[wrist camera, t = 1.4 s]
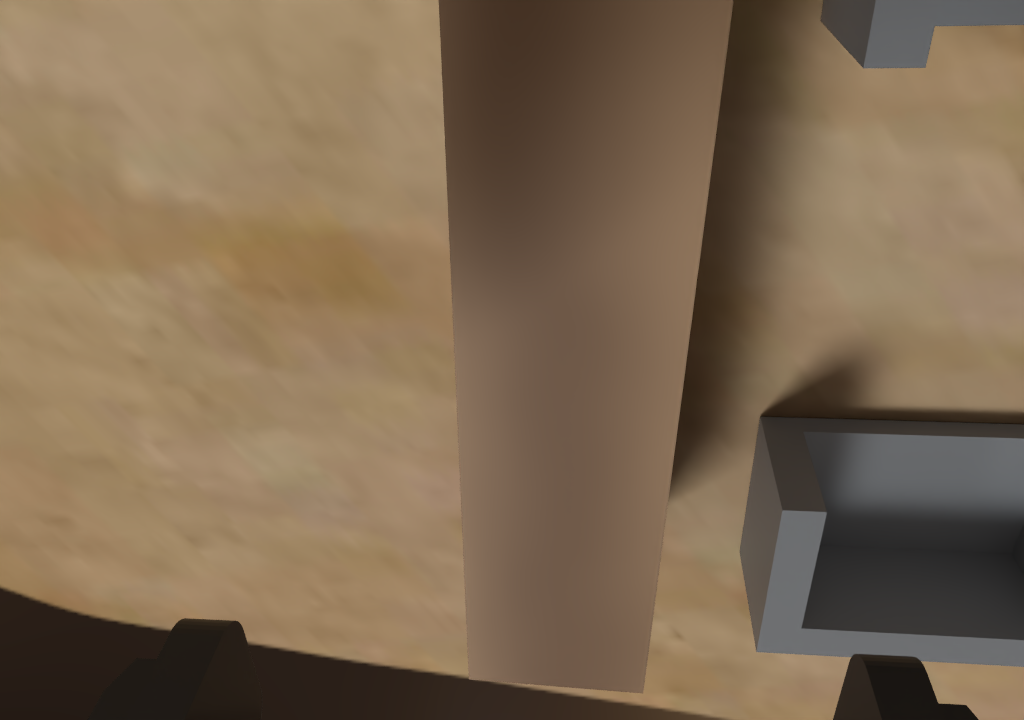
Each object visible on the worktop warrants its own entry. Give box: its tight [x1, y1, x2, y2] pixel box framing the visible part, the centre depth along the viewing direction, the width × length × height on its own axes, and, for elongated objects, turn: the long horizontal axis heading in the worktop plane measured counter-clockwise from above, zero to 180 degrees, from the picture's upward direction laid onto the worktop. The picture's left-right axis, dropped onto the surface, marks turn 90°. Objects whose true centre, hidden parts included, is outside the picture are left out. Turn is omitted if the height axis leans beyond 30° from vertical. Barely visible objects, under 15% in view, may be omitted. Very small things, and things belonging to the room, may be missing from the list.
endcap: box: [740, 417, 1024, 667], centre depth 23 cm, size 8×5×4 cm, turn 92°
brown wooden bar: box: [439, 0, 734, 693], centre depth 19 cm, size 4×16×6 cm, turn 0°
